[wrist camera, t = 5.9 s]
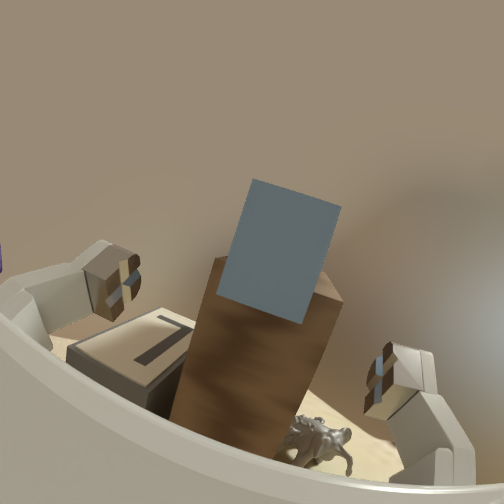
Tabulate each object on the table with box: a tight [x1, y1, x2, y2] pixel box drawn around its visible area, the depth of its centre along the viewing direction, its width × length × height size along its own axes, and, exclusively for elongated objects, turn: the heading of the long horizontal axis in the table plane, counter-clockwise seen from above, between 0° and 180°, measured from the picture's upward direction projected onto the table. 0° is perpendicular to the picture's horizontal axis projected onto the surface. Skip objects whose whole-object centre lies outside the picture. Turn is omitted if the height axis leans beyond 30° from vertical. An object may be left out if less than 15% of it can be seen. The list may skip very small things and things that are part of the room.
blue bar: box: [216, 179, 341, 324], centre depth 20 cm, size 3×20×4 cm, turn 170°
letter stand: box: [66, 307, 196, 421], centre depth 30 cm, size 8×18×15 cm, turn 170°
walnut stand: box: [169, 256, 343, 460], centre depth 28 cm, size 8×18×26 cm, turn 170°
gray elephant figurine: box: [276, 415, 353, 477], centre depth 35 cm, size 9×12×8 cm
